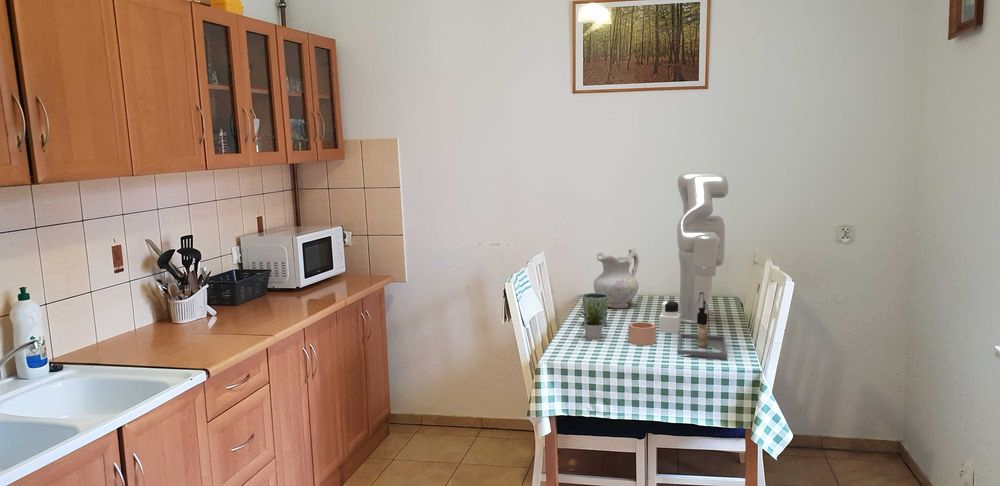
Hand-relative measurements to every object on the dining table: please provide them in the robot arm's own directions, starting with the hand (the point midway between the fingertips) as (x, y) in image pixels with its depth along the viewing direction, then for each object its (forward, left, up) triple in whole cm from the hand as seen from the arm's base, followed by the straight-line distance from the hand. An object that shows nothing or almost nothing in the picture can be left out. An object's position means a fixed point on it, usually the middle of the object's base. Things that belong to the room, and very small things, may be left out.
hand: (702, 322), depth 251 cm
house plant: (+30, -22, -10) cm, 38 cm away
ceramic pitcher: (-1, -72, -10) cm, 73 cm away
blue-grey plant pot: (+22, -43, -10) cm, 49 cm away
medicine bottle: (0, -23, -10) cm, 25 cm away
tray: (0, 0, -10) cm, 10 cm away
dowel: (0, 0, -8) cm, 8 cm away
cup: (+17, -12, -10) cm, 23 cm away
